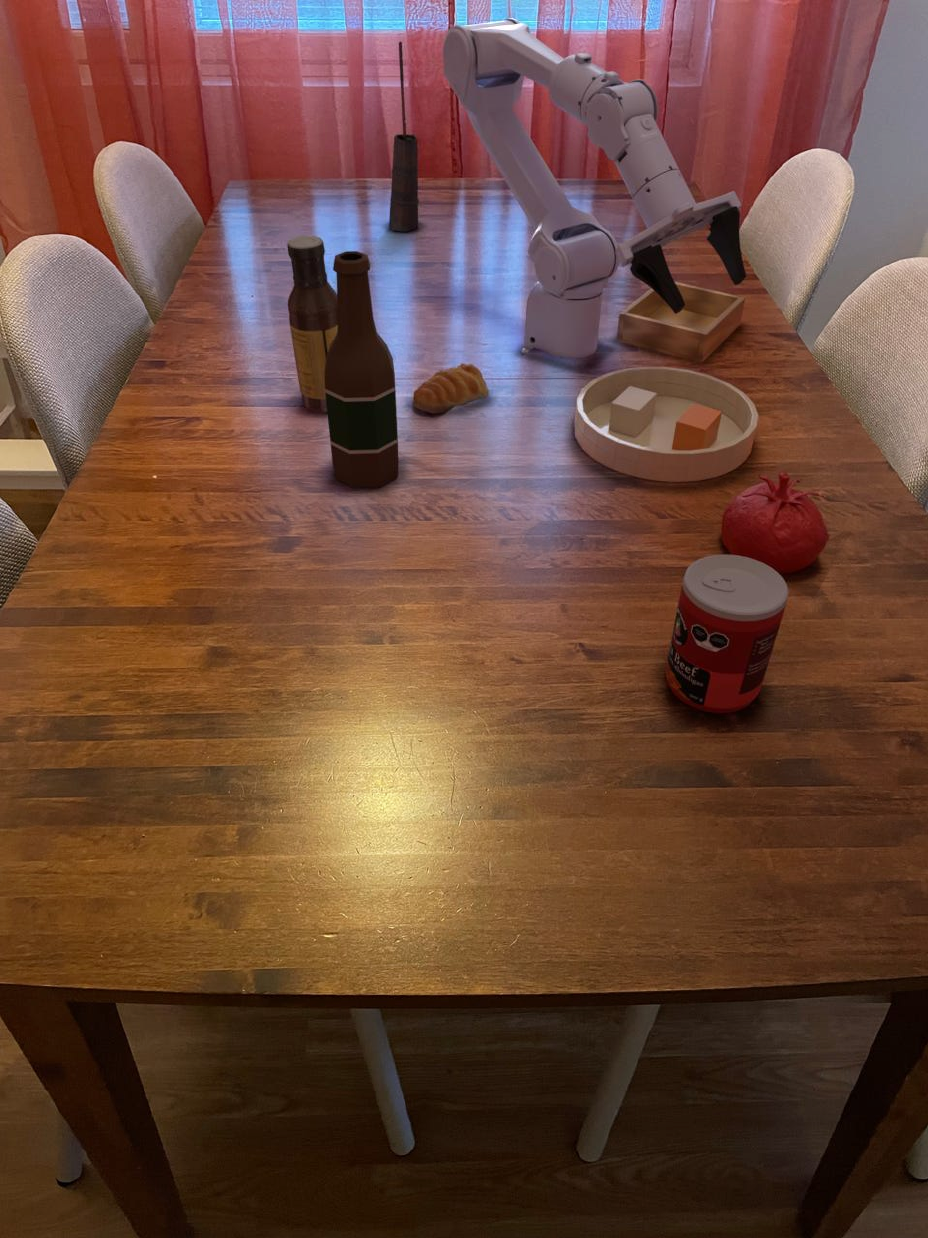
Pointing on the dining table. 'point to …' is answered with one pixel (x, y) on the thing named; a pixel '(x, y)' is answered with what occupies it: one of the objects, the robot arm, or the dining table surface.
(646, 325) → the holder
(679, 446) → the orange wooden cube
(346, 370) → the beer bottle
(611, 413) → the beige wooden cube
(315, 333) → the sauce bottle
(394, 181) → the butter churn
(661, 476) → the bowl
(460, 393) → the pastry
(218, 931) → the dining table surface
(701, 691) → the canned food
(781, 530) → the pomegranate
